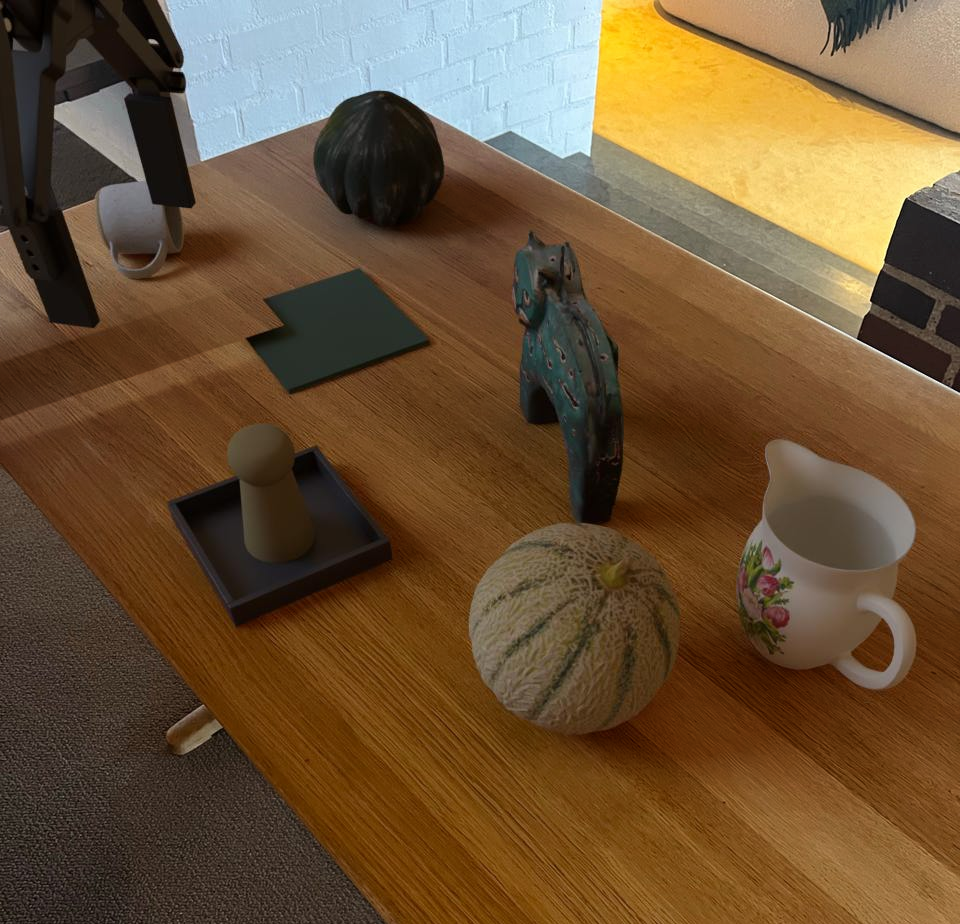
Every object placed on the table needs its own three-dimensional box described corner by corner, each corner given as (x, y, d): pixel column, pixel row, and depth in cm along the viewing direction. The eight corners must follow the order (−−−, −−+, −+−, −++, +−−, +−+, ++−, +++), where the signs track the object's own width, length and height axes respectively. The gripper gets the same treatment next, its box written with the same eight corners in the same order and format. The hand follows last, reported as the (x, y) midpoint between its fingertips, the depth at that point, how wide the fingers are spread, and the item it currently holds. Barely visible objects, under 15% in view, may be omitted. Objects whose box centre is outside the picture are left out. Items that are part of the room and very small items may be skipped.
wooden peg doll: (262, 573, 82) (236, 473, 74) (233, 529, 86) (205, 428, 77) (327, 545, 84) (309, 444, 76) (296, 503, 88) (276, 402, 79)
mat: (227, 315, 106) (225, 310, 106) (359, 272, 112) (359, 267, 111) (289, 394, 98) (288, 389, 97) (430, 344, 103) (429, 339, 103)
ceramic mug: (116, 233, 117) (96, 169, 111) (186, 229, 117) (170, 165, 111) (103, 284, 110) (81, 219, 104) (177, 280, 111) (159, 215, 105)
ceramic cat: (503, 397, 97) (507, 199, 82) (566, 387, 98) (582, 189, 83) (564, 537, 85) (582, 336, 70) (635, 523, 86) (668, 322, 71)
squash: (350, 119, 123) (312, 53, 109) (465, 139, 121) (442, 75, 106) (326, 233, 124) (284, 184, 110) (440, 255, 122) (413, 207, 108)
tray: (172, 520, 87) (166, 501, 85) (319, 464, 91) (316, 444, 90) (235, 627, 79) (230, 608, 77) (392, 559, 84) (390, 540, 82)
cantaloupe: (464, 620, 80) (460, 480, 68) (645, 609, 80) (672, 469, 68) (477, 780, 70) (476, 649, 59) (682, 766, 71) (721, 634, 59)
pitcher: (810, 758, 71) (867, 639, 61) (679, 588, 82) (709, 460, 71) (931, 707, 74) (1007, 584, 63) (790, 548, 84) (835, 420, 74)
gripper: (-96, -97, 35) (89, 391, 52) (186, -247, 51) (260, 168, 67) (-278, -110, 36) (-40, 372, 53) (51, -253, 52) (157, 157, 68)
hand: (128, 259), depth 60 cm, fingers open, 13 cm apart
